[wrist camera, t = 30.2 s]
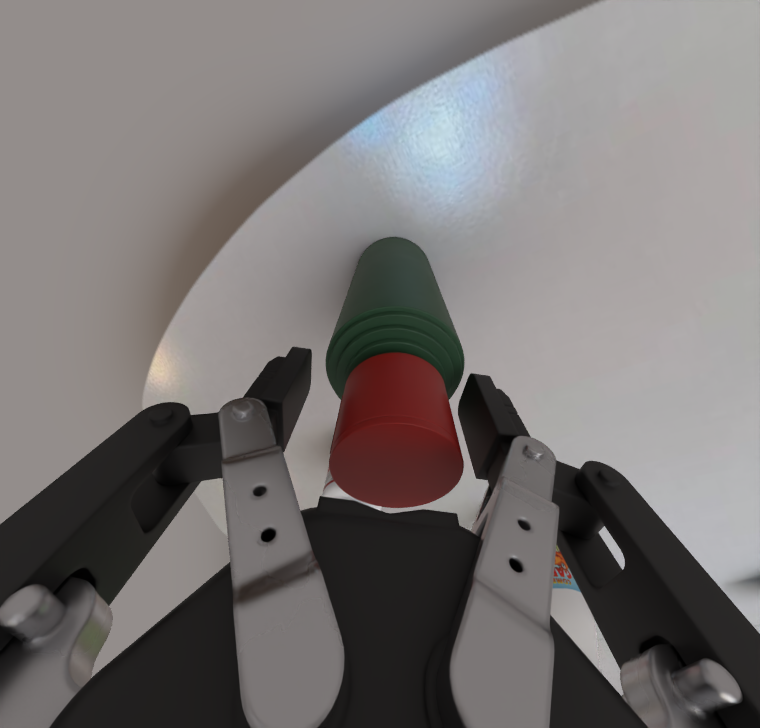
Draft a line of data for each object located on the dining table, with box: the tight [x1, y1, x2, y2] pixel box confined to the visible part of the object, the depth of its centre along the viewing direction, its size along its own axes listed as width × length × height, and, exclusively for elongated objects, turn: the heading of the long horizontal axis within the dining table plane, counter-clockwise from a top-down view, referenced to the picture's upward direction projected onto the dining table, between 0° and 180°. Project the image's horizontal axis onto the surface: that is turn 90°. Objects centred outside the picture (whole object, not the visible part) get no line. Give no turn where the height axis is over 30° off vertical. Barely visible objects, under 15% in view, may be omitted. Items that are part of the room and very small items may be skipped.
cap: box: [329, 353, 464, 508], centre depth 11 cm, size 4×4×4 cm
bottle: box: [326, 237, 464, 400], centre depth 17 cm, size 6×6×19 cm
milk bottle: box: [550, 544, 602, 673], centre depth 33 cm, size 8×8×20 cm
